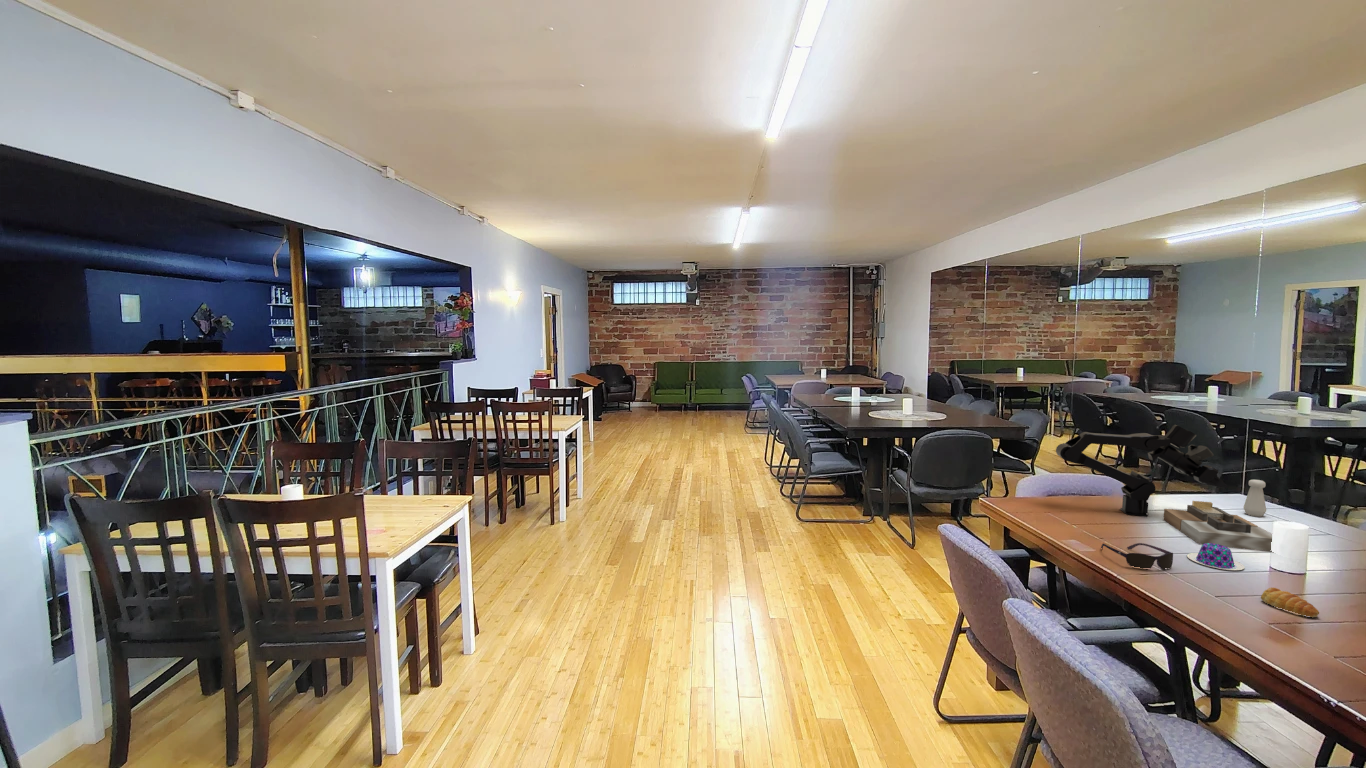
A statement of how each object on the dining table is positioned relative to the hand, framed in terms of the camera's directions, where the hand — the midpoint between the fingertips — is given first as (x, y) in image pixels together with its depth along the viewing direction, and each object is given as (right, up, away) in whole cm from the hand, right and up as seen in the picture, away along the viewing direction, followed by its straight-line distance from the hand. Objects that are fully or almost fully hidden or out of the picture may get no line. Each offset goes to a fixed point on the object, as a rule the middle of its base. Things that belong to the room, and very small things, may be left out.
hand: (1219, 483), depth 191 cm
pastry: (-42, -20, -59) cm, 75 cm away
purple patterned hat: (-35, -17, -33) cm, 51 cm away
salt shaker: (+19, -13, +7) cm, 24 cm away
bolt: (-10, -10, -6) cm, 15 cm away
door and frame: (-12, -15, -12) cm, 23 cm away
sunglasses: (-56, -17, -30) cm, 66 cm away
